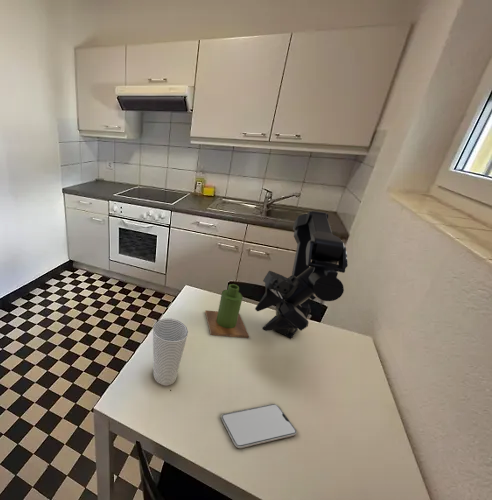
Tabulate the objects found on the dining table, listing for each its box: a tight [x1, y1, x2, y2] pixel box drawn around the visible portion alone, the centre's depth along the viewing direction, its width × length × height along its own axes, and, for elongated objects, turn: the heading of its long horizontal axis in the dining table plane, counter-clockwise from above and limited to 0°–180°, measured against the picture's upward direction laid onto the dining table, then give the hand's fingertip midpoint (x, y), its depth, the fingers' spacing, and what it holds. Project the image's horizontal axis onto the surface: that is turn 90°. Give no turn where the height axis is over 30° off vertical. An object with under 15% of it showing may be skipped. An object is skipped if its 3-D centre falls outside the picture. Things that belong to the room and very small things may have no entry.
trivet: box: [204, 310, 250, 339], centre depth 95 cm, size 12×12×1 cm
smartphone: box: [220, 403, 298, 449], centre depth 62 cm, size 7×1×15 cm
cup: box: [152, 318, 189, 386], centre depth 70 cm, size 8×8×16 cm
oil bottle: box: [217, 283, 243, 328], centre depth 92 cm, size 6×6×14 cm
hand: (259, 319), depth 77 cm, fingers open, 9 cm apart
